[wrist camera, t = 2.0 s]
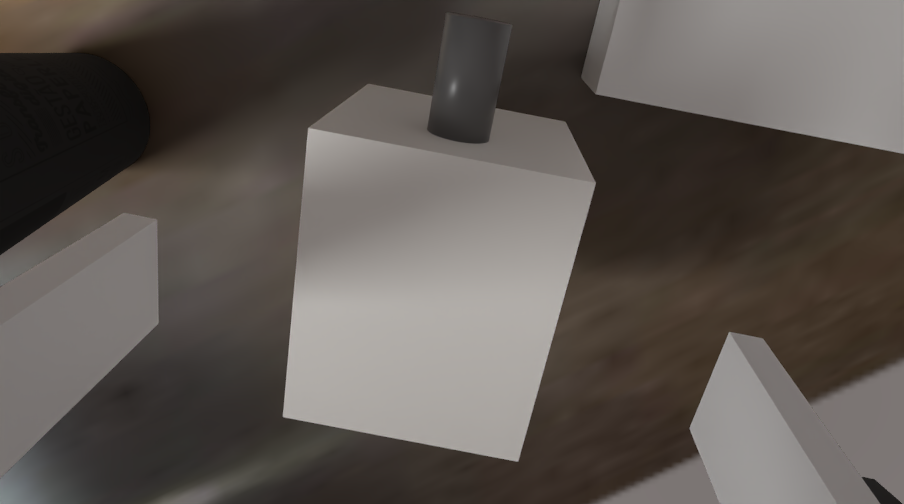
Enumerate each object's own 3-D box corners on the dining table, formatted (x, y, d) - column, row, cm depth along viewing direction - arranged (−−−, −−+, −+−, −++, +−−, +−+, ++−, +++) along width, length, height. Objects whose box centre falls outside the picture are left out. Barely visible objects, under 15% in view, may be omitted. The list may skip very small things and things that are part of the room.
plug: (511, 283, 27) (518, 461, 17) (363, 255, 27) (282, 417, 17) (572, 24, 23) (632, 54, 13) (399, -10, 23) (320, -7, 13)
